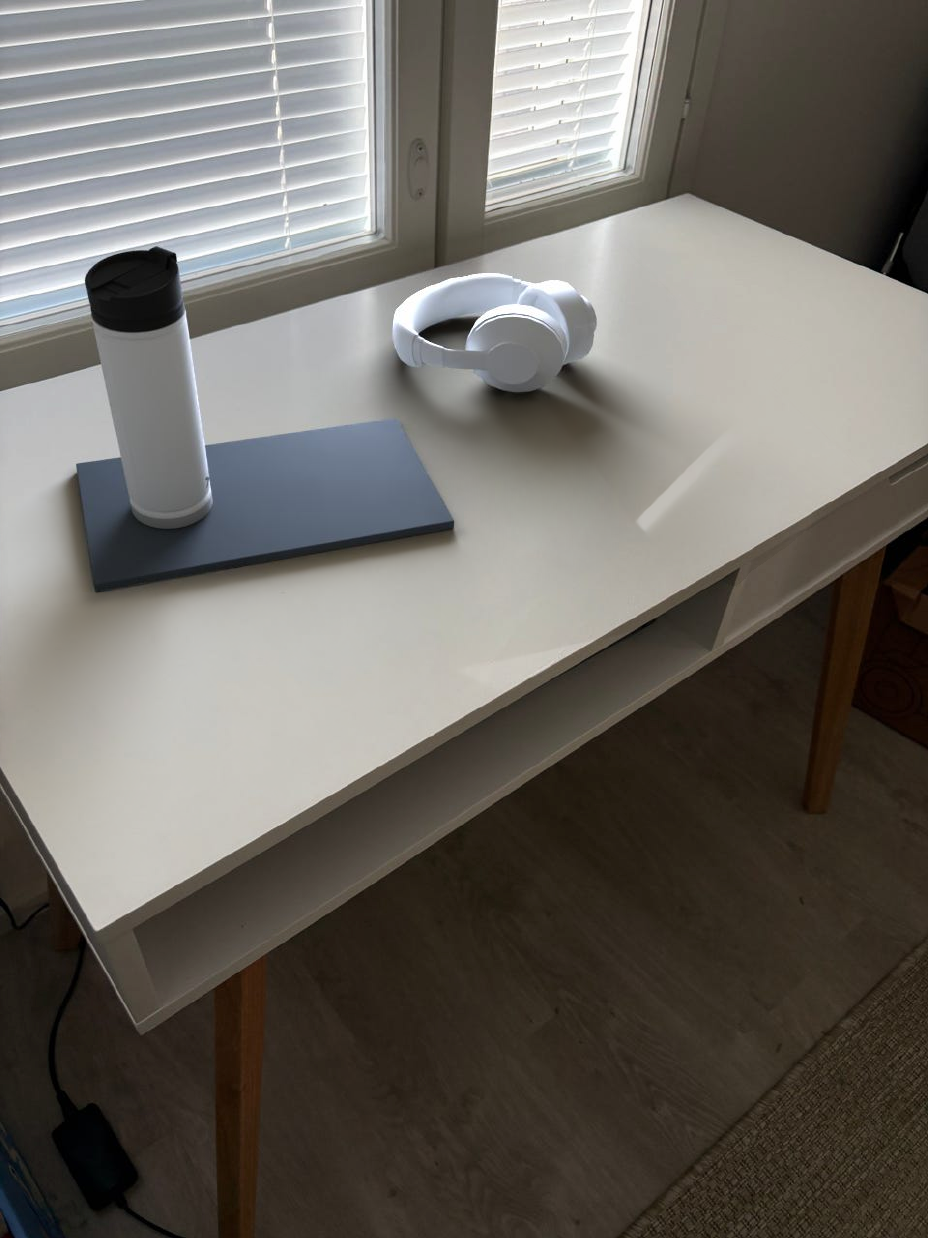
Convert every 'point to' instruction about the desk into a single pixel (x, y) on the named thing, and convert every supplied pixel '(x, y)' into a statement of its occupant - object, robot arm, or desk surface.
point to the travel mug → (151, 385)
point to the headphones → (500, 328)
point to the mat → (267, 504)
